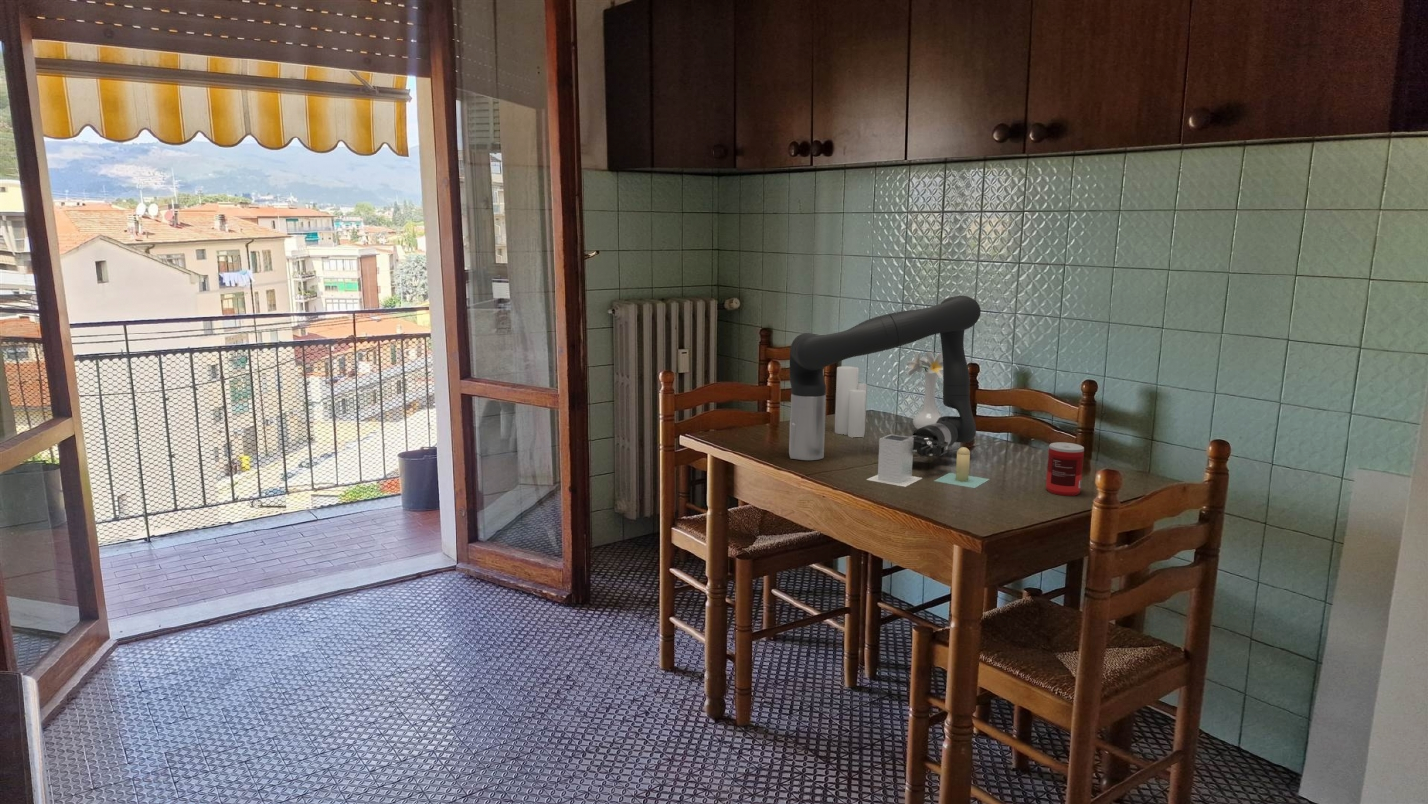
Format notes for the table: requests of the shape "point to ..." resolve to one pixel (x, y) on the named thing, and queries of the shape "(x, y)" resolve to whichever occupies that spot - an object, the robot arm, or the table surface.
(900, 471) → the white sleeve
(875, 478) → the stand
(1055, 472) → the canned food
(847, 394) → the white joined cylinders
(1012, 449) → the table surface
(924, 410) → the flower vase
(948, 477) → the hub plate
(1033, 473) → the table surface
